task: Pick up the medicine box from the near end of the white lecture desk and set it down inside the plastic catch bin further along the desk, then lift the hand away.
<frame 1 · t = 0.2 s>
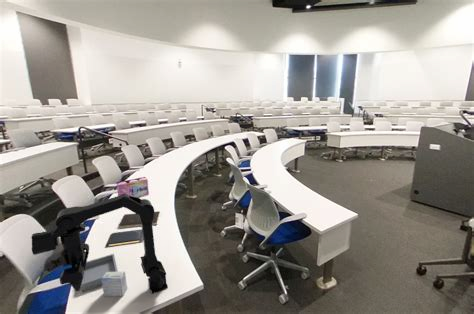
hand: (80, 281, 90), 14 cm above the table, fingers open, 9 cm apart
gum box: (133, 196, 203), on the table
medicine box: (116, 292, 103), on the table
dark gray book: (126, 239, 143), on the table
catch bin: (100, 274, 114), on the table
hardcover book: (140, 221, 163), on the table
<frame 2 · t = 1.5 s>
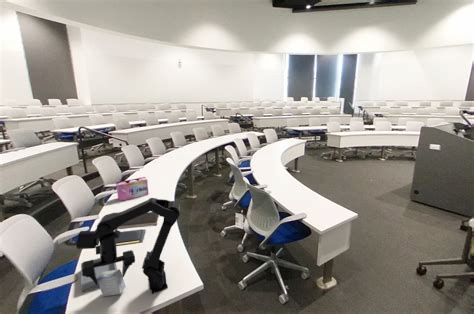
hand: (110, 280, 101), 6 cm above the table
medicine box: (114, 292, 103), on the table, touching gripper
everything else where it was.
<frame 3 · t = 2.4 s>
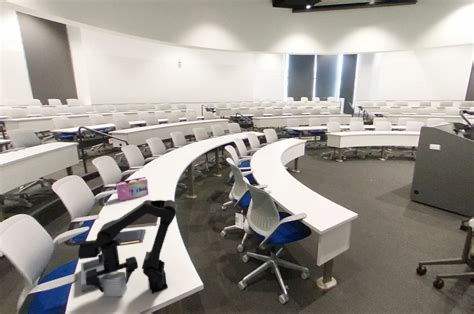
hand: (114, 287, 102), 3 cm above the table, fingers closed on medicine box, 9 cm apart
medicine box: (115, 293, 103), on the table, touching gripper
everything else where it was.
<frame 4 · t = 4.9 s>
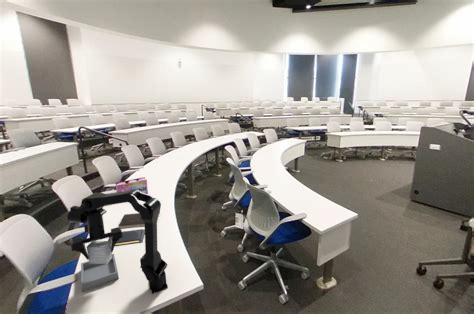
hand: (100, 255, 107), 13 cm above the table, fingers closed on medicine box, 9 cm apart
medicine box: (101, 261, 107), point 10 cm above the table, touching gripper
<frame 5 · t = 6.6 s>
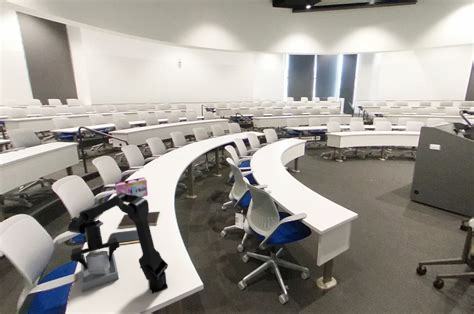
hand: (98, 264, 112), 5 cm above the table, fingers closed on medicine box, 9 cm apart
medicine box: (99, 270, 113), point 2 cm above the table, touching gripper
when the fingers open (5 cm above the table, at t = 7.7 s): medicine box drops 2 cm, resting on catch bin.
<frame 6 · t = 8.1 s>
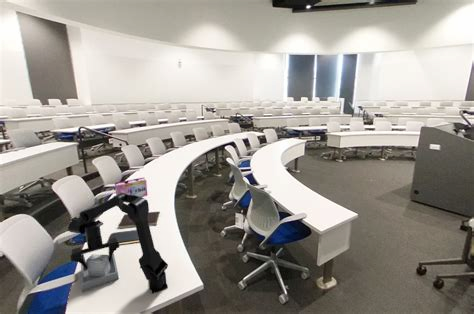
hand: (98, 264, 112), 5 cm above the table, fingers open, 9 cm apart
medicine box: (100, 273, 113), resting on catch bin
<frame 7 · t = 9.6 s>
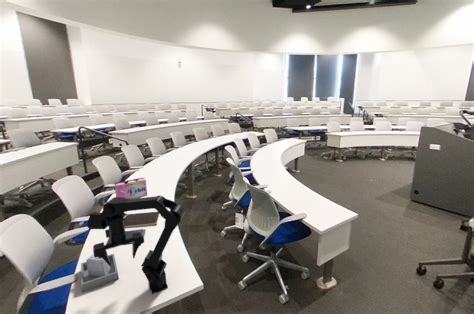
hand: (122, 261, 104), 12 cm above the table, fingers open, 9 cm apart
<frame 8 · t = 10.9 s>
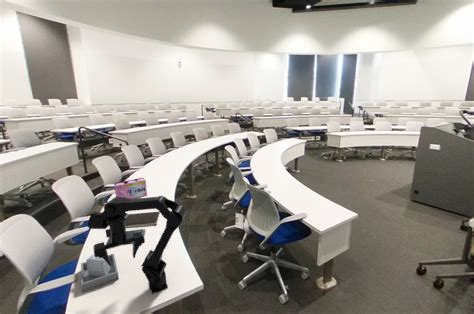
hand: (122, 261, 104), 12 cm above the table, fingers open, 9 cm apart
at the end: medicine box inside the target area on the catch bin (0.4 cm from its centre), point 0.4 cm above the catch bin's base; the gripper is holding nothing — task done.
